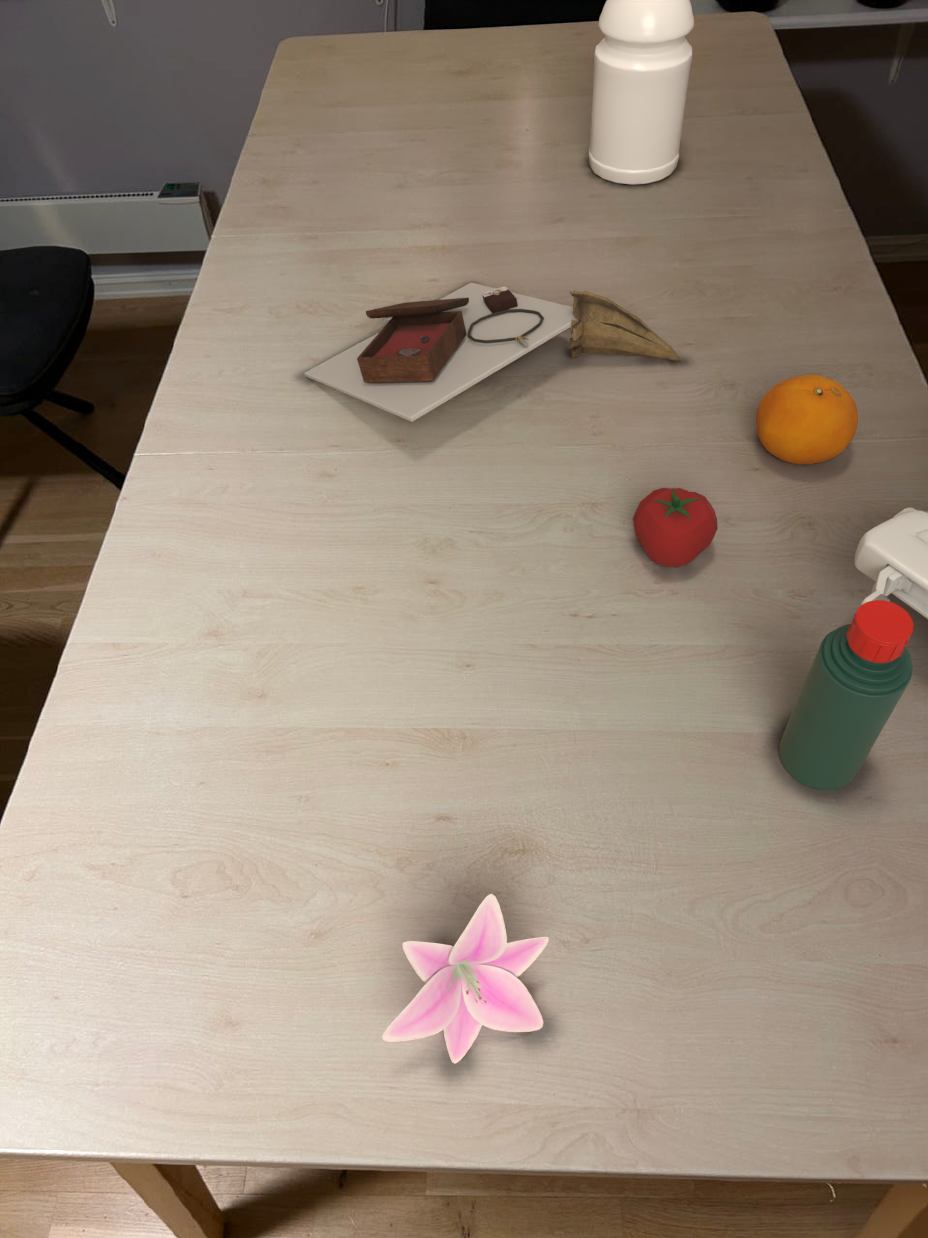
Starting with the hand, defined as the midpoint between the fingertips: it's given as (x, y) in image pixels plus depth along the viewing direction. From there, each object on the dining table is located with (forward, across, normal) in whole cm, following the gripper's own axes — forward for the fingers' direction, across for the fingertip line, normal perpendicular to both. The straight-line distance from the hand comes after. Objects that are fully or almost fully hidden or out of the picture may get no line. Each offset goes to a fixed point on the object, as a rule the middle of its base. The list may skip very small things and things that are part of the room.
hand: (914, 647), depth 76 cm
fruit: (-21, -28, +9) cm, 36 cm away
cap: (+8, 0, -9) cm, 12 cm away
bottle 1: (-52, -88, +9) cm, 103 cm away
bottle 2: (+8, 0, +9) cm, 12 cm away
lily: (+44, -2, +9) cm, 45 cm away
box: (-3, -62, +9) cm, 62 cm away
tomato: (+1, -26, +9) cm, 27 cm away
